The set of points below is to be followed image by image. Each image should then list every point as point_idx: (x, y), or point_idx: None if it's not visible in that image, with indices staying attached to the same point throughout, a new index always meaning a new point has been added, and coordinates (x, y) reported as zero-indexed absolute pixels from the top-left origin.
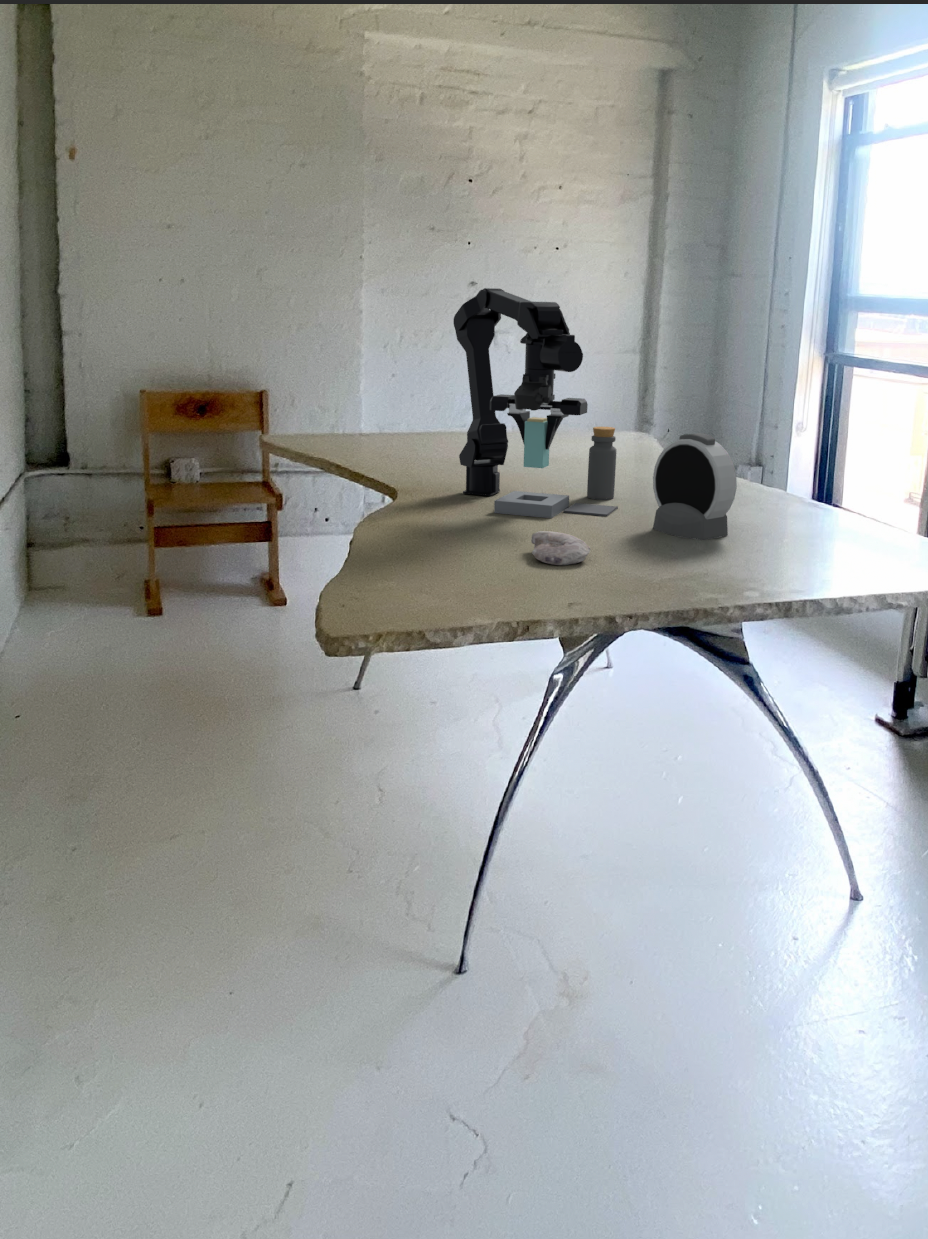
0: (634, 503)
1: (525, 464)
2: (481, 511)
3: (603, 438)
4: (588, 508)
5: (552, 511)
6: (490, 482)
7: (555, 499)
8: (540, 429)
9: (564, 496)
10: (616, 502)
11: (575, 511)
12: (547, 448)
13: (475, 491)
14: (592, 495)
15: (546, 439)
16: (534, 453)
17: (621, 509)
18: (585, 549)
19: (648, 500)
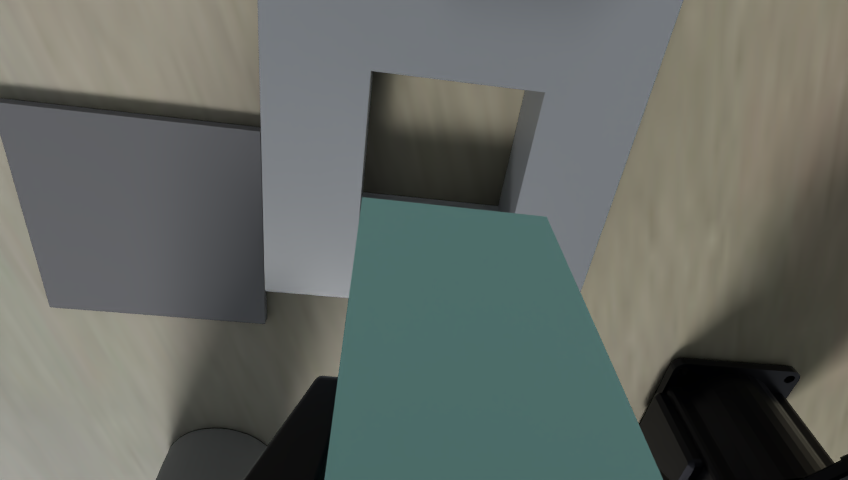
0: (47, 409)
1: (533, 228)
2: (730, 6)
3: None
4: (157, 222)
5: None
6: (697, 424)
7: (301, 162)
8: None
9: (279, 258)
10: (124, 406)
11: (188, 127)
12: (316, 380)
13: (746, 378)
14: (238, 443)
15: (311, 463)
16: (456, 284)
17: (31, 289)
18: None
19: (29, 466)
